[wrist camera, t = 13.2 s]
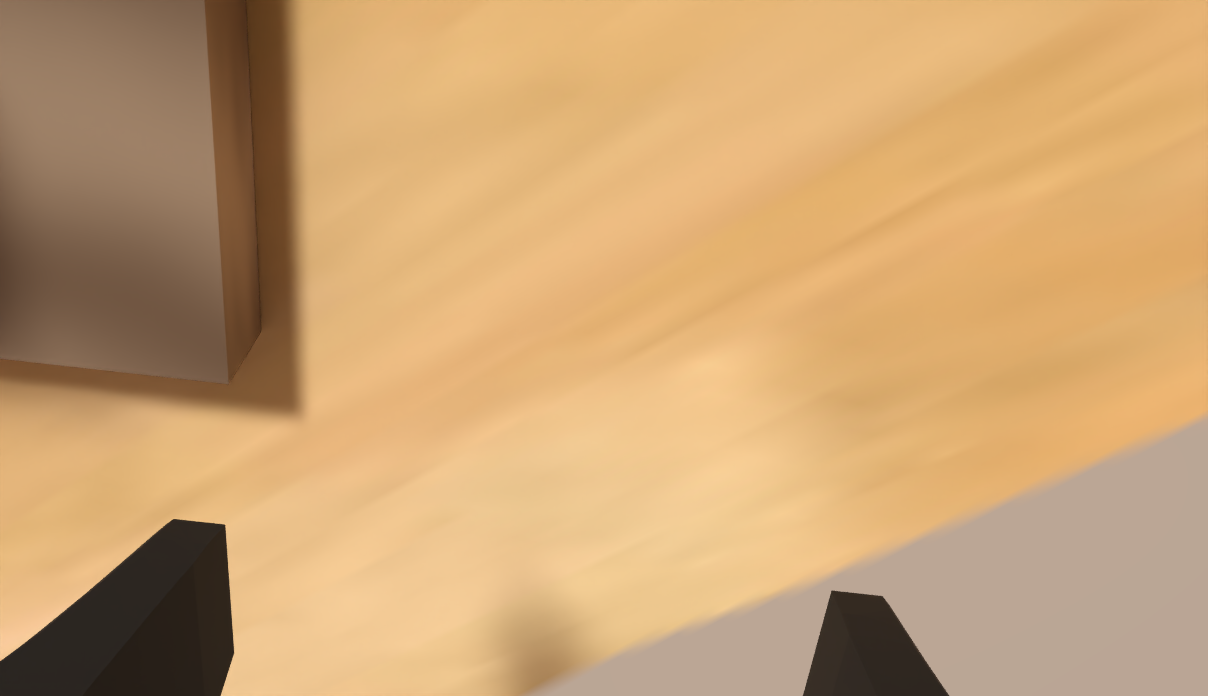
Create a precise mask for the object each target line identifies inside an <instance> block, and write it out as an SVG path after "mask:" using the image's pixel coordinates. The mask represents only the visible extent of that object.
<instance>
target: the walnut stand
mask: <svg viewBox="0 0 1208 696" xmlns="http://www.w3.org/2000/svg"><path fill="white" fill-rule="evenodd" d="M260 332H261V319H260V297H259V275H258V253H257V231H256V209H255V187H254V165H253V143H252V121H251V99H250V77H249V55H248V33H247V11H246V0H0V359H7V360H16V361H25V362H34V363H43V364H52V365H61V366H70V367H79V368H87V369H96V370H105V371H114V372H123V373H132V374H141V375H150V376H159V377H168V378H177V379H186V380H195V381H204V382H213V383H222V384H229V383H230V381H231V380H232V378H233V376H234V375H235V373H236V371H237V370H238V368H239V367H240V365H241V363H242V362H243V360H244V358H245V357H246V355H247V354H248V352H249V350H250V349H251V347H252V345H253V344H254V342H255V341H256V339H257V337H258V336H259V334H260Z"/></svg>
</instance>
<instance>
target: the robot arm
mask: <svg viewBox="0 0 1208 696" xmlns="http://www.w3.org/2000/svg"><path fill="white" fill-rule="evenodd" d="M233 655H234V644H233V630H232V616H231V601H230V587H229V573H228V558H227V544H226V530H225V525H223V524H214V523H205V522H196V521H187V520H177V519H173V520H172V521H170V522H169V523H168V524H166V525H165V526H164V527H163V528H161V529H160V530H159V531H158V532H157V533H155V534H154V535H153V536H152V537H151V538H150V539H148V540H147V541H146V542H145V543H144V544H143V545H141V546H140V547H139V548H138V549H137V550H136V551H135V552H133V553H132V554H131V555H130V556H129V557H128V558H127V559H125V560H124V561H123V562H122V563H121V564H120V565H118V566H117V567H116V568H115V569H114V570H113V571H112V572H110V573H109V574H108V575H107V576H106V577H105V578H103V579H102V580H101V581H100V582H99V583H97V584H96V585H95V586H94V587H93V588H92V589H90V590H89V591H88V592H87V593H86V594H85V595H83V596H82V597H81V598H80V599H78V600H77V601H76V602H75V603H74V604H72V605H71V606H70V607H69V608H67V609H66V610H65V611H64V612H63V613H61V614H60V615H59V616H58V617H56V618H55V619H54V620H53V621H52V622H50V623H49V624H48V625H47V626H45V627H44V628H43V629H42V630H41V631H39V632H38V633H37V634H36V635H34V636H33V637H32V638H31V639H29V640H28V641H27V642H25V643H24V644H23V645H22V646H20V647H19V648H18V649H16V650H15V651H14V652H12V653H11V654H10V655H8V656H7V657H5V658H4V659H3V660H1V661H0V696H221V693H222V689H223V686H224V683H225V680H226V677H227V674H228V670H229V667H230V664H231V661H232V658H233ZM803 696H949V695H948V693H947V692H946V690H945V689H944V688H943V686H942V685H941V683H940V682H939V680H938V679H937V677H936V676H935V674H934V673H933V671H932V670H931V668H930V667H929V665H928V664H927V662H926V661H925V660H924V658H923V656H922V655H921V653H920V652H919V650H918V649H917V647H916V646H915V644H914V643H913V641H912V639H911V638H910V637H909V635H908V633H907V632H906V630H905V629H904V628H903V626H902V624H901V623H900V621H899V619H898V618H897V616H896V615H895V613H894V612H893V610H892V609H891V607H890V606H889V604H888V603H887V602H886V600H885V599H884V598H883V596H875V595H867V594H857V593H848V592H838V591H831V595H830V599H829V602H828V606H827V609H826V613H825V617H824V621H823V624H822V628H821V632H820V635H819V639H818V643H817V647H816V650H815V654H814V657H813V661H812V665H811V669H810V673H809V676H808V679H807V683H806V687H805V691H804V694H803Z"/></svg>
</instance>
